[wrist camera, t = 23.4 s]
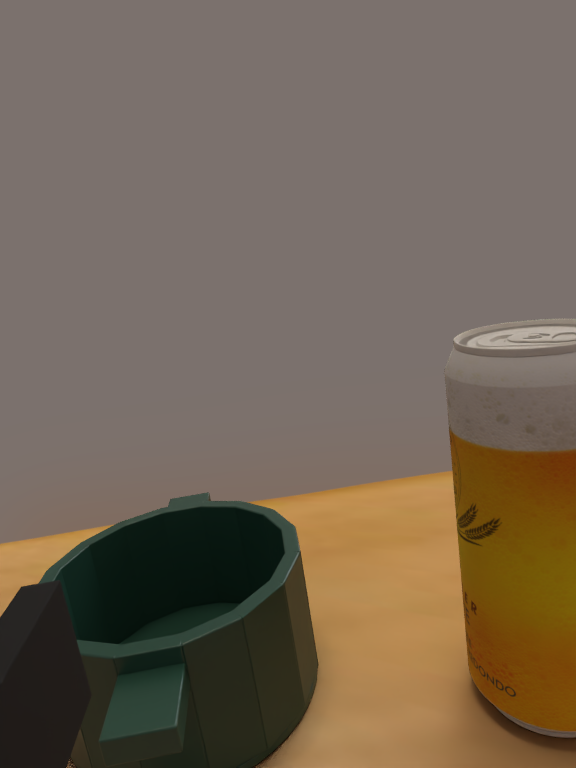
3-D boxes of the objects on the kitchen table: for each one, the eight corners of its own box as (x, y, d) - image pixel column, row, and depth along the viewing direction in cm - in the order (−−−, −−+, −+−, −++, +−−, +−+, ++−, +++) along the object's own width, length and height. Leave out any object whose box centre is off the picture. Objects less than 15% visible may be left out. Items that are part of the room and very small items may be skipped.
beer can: (498, 619, 27) (479, 319, 23) (644, 666, 23) (646, 313, 19) (446, 704, 23) (412, 351, 19) (614, 781, 19) (611, 351, 15)
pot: (-10, 914, 17) (-70, 753, 16) (113, 594, 34) (89, 501, 33) (351, 840, 18) (326, 677, 16) (298, 561, 35) (283, 468, 33)
